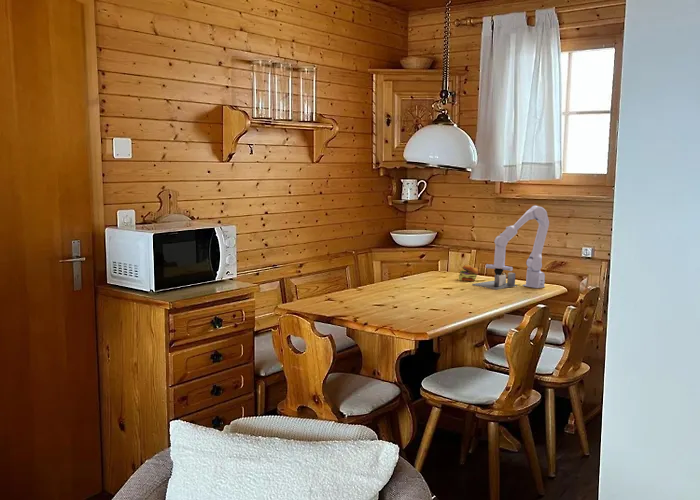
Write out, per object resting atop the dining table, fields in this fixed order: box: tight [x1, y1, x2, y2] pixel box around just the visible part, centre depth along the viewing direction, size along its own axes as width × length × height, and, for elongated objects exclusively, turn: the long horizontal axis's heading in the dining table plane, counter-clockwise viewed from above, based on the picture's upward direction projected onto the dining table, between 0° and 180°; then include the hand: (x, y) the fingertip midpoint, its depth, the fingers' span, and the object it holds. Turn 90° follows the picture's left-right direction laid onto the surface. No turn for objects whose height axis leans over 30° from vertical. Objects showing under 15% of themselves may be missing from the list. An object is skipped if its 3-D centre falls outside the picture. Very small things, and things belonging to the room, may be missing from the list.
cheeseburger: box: [458, 264, 479, 282], centre depth 396 cm, size 10×11×10 cm
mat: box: [472, 280, 518, 291], centre depth 382 cm, size 16×19×1 cm
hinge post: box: [493, 274, 499, 287], centre depth 375 cm, size 2×2×6 cm
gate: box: [499, 272, 507, 286], centre depth 380 cm, size 10×2×6 cm, turn 147°
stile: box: [506, 272, 516, 286], centre depth 382 cm, size 5×6×6 cm
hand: (498, 282), depth 383 cm, fingers closed
